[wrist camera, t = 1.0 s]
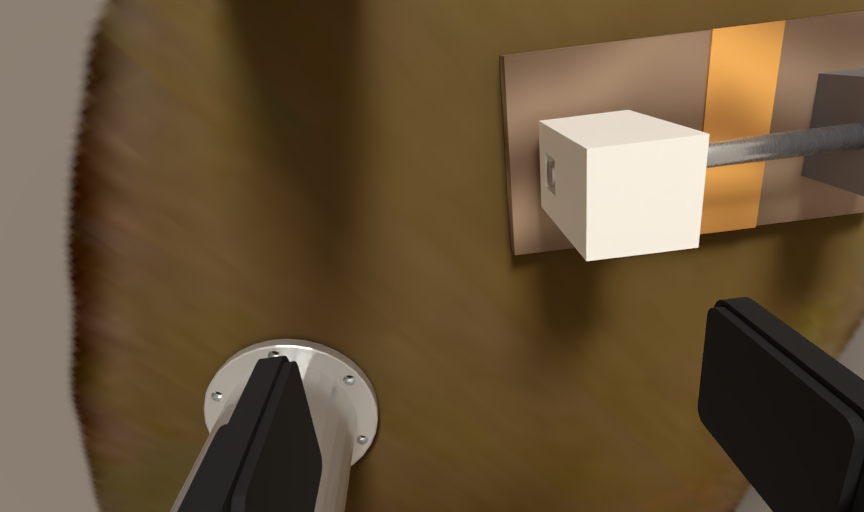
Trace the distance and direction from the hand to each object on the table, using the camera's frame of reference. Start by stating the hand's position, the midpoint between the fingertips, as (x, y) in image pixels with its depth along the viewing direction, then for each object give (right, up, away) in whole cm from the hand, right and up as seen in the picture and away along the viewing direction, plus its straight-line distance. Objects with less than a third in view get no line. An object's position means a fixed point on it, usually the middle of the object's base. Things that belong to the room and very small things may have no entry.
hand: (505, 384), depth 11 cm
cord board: (+15, +10, +20) cm, 27 cm away
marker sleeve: (+7, +8, +18) cm, 21 cm away
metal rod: (+13, +8, +16) cm, 23 cm away
